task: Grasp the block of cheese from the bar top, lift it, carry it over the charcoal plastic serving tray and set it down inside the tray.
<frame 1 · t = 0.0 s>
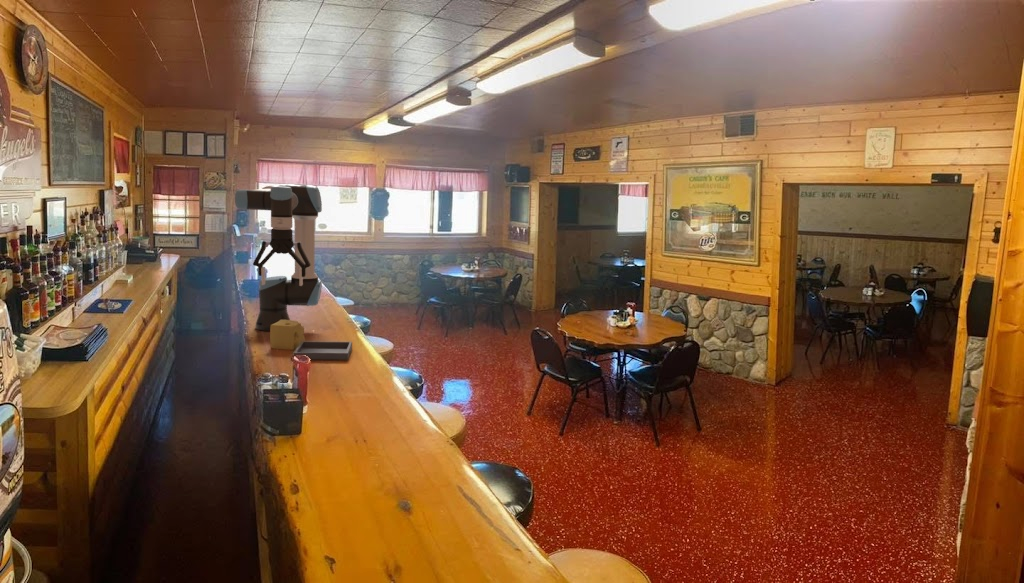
hand: (282, 285, 243), 28 cm above the table, fingers open, 13 cm apart
cheese: (287, 347, 263), on the table
tray: (324, 354, 254), on the table
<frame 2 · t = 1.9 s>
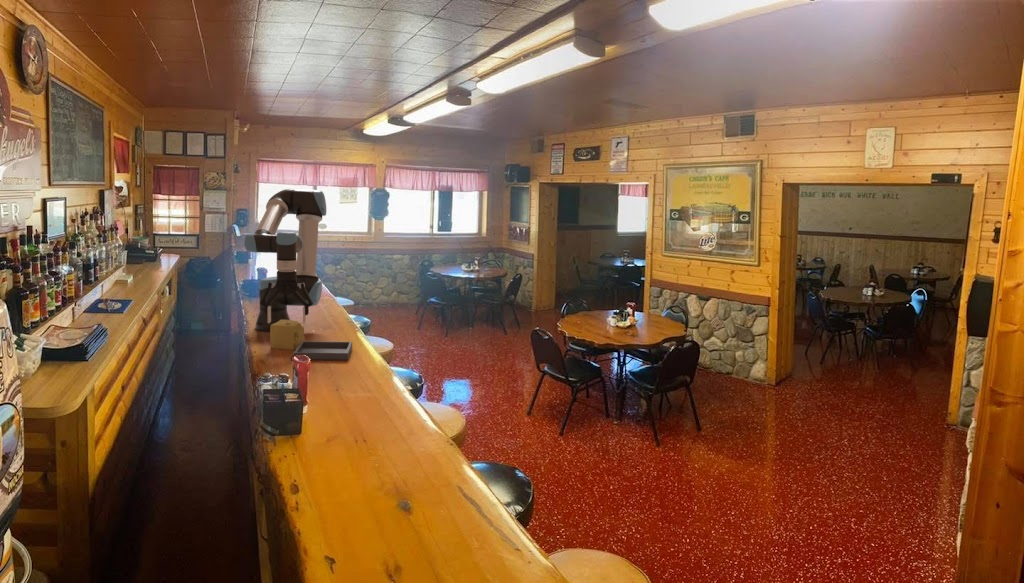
hand: (286, 322, 261), 10 cm above the table, fingers open, 13 cm apart
nothing on the table moved.
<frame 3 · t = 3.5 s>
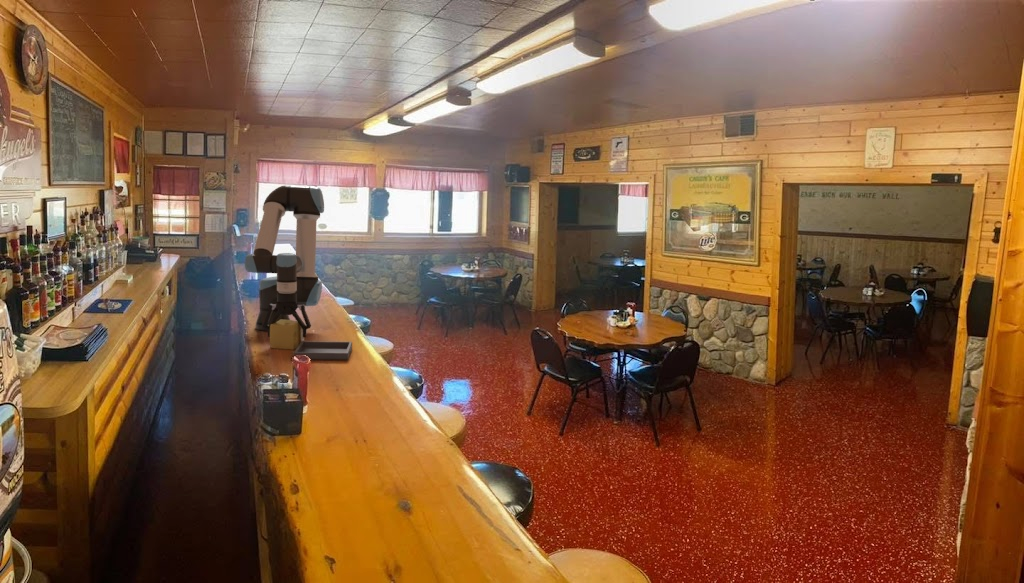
hand: (287, 345, 263), 1 cm above the table, fingers closed on cheese, 11 cm apart
cheese: (287, 346, 263), on the table, touching gripper
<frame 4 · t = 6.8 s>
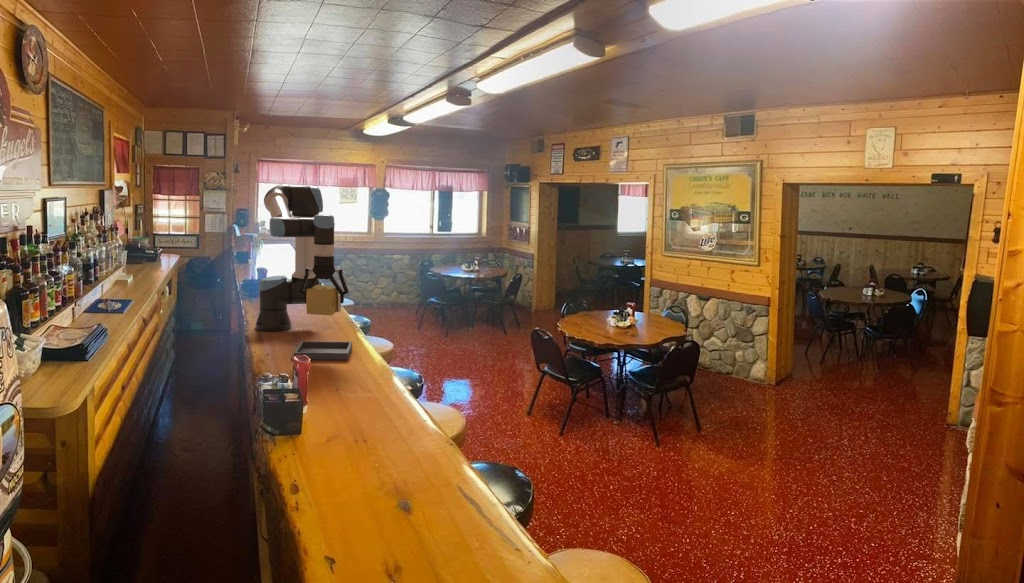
hand: (324, 311, 251), 17 cm above the table, fingers closed on cheese, 11 cm apart
cheese: (323, 313, 251), point 17 cm above the table, touching gripper
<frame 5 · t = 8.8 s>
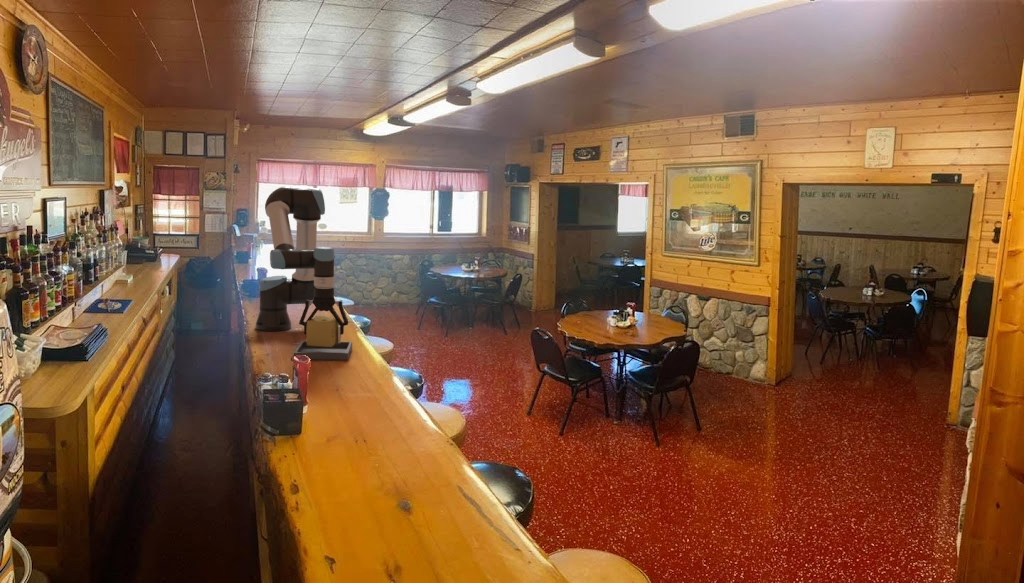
hand: (324, 342, 253), 5 cm above the table, fingers closed on cheese, 11 cm apart
cheese: (323, 344, 253), point 4 cm above the table, touching gripper
when the fingers open (3 cm above the table, at t = 10.2 s): cheese drops 2 cm, resting on tray.
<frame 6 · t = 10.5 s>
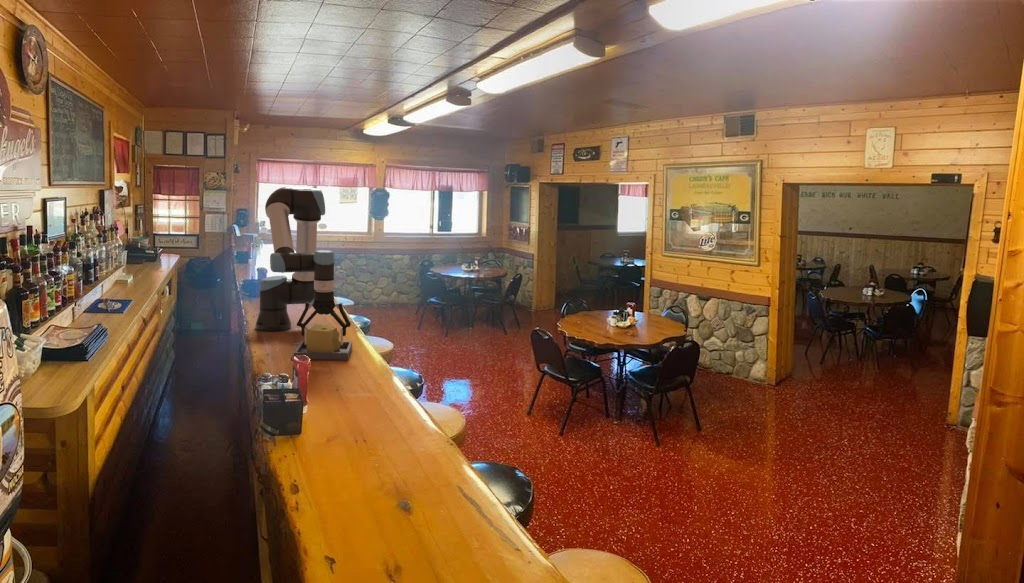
hand: (324, 344, 253), 4 cm above the table, fingers open, 13 cm apart
cheese: (323, 352, 254), point 1 cm above the table, touching tray
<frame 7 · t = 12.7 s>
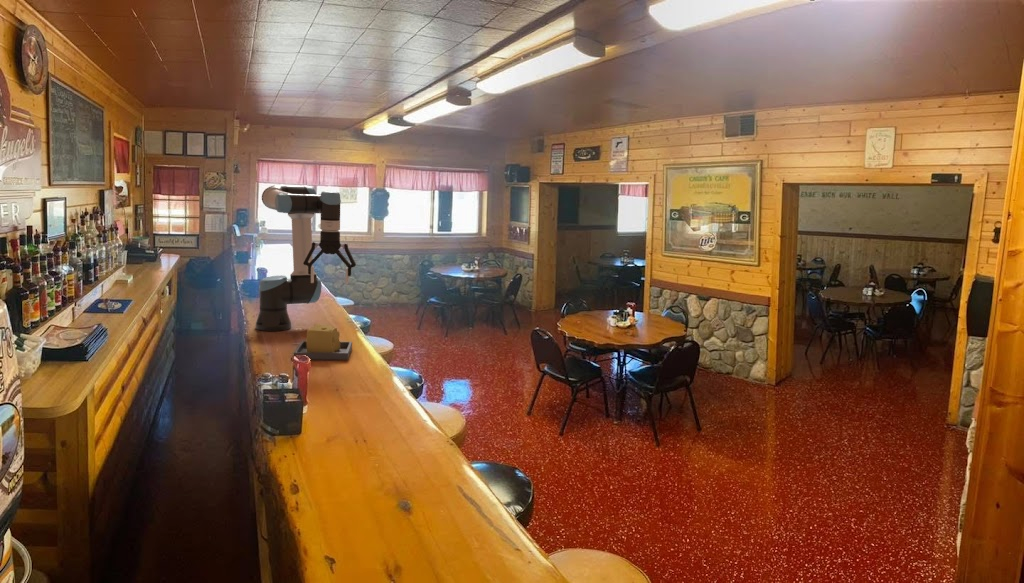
hand: (329, 283, 261), 27 cm above the table, fingers open, 13 cm apart
nothing on the table moved.
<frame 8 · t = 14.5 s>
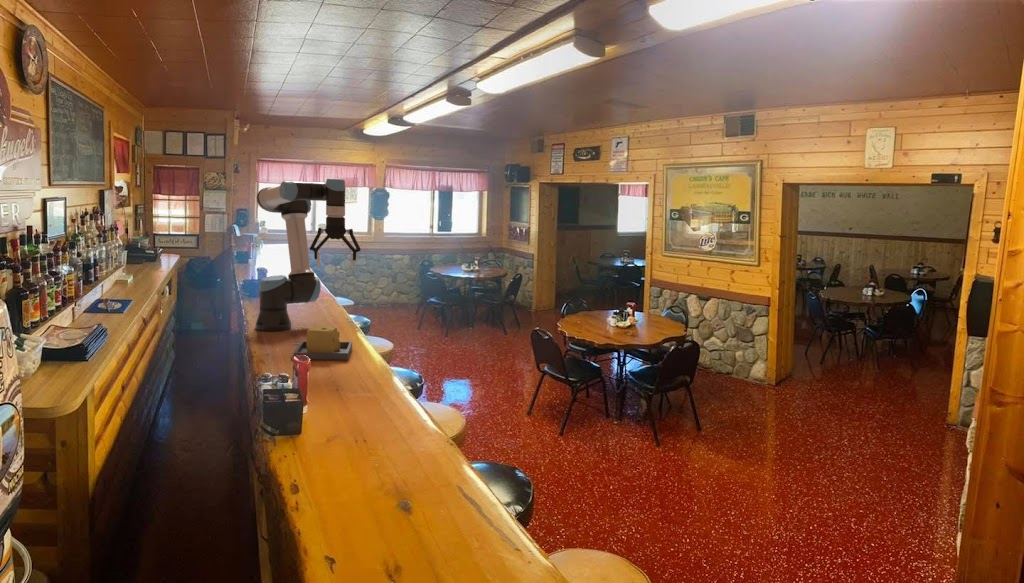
hand: (335, 267, 268), 32 cm above the table, fingers open, 13 cm apart
nothing on the table moved.
at the end: cheese inside the target area on the tray (0.4 cm from its centre), point 0.6 cm above the tray's base; the gripper is holding nothing; cheese tilted 0° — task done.
